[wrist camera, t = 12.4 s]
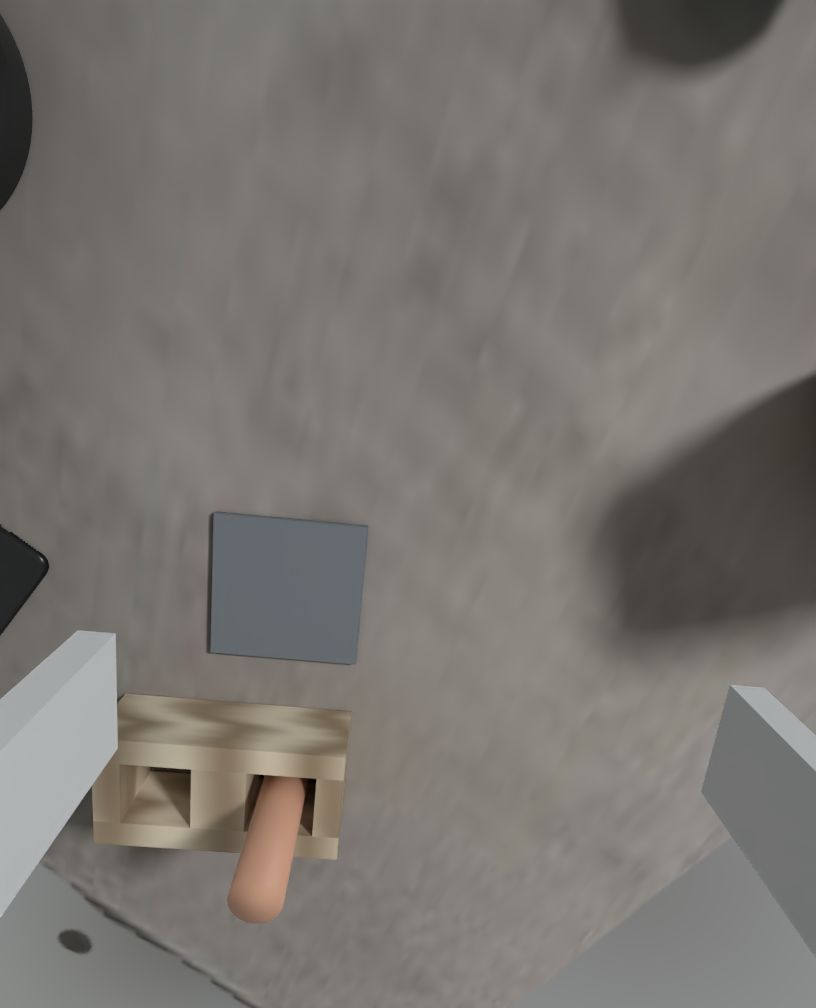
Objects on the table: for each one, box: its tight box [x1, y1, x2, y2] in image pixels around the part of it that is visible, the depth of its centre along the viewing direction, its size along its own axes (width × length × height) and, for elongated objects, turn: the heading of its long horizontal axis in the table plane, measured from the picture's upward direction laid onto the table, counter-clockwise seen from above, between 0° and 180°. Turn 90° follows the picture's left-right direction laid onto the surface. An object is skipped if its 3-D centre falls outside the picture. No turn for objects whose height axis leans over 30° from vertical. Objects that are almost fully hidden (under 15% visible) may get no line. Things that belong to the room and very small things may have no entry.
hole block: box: [92, 694, 351, 860], centre depth 41 cm, size 16×8×5 cm, turn 84°
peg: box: [227, 775, 309, 923], centre depth 38 cm, size 3×3×12 cm
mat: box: [210, 512, 368, 664], centre depth 40 cm, size 10×10×1 cm
